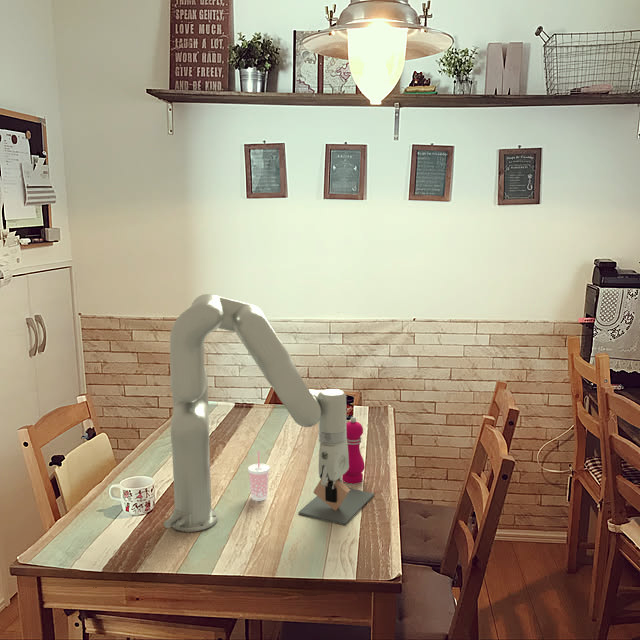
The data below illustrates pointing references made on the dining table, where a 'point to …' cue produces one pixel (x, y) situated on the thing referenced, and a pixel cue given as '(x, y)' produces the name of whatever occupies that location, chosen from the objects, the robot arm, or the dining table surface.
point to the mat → (343, 513)
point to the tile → (341, 493)
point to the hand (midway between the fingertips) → (333, 498)
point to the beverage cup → (258, 480)
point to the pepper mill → (354, 453)
